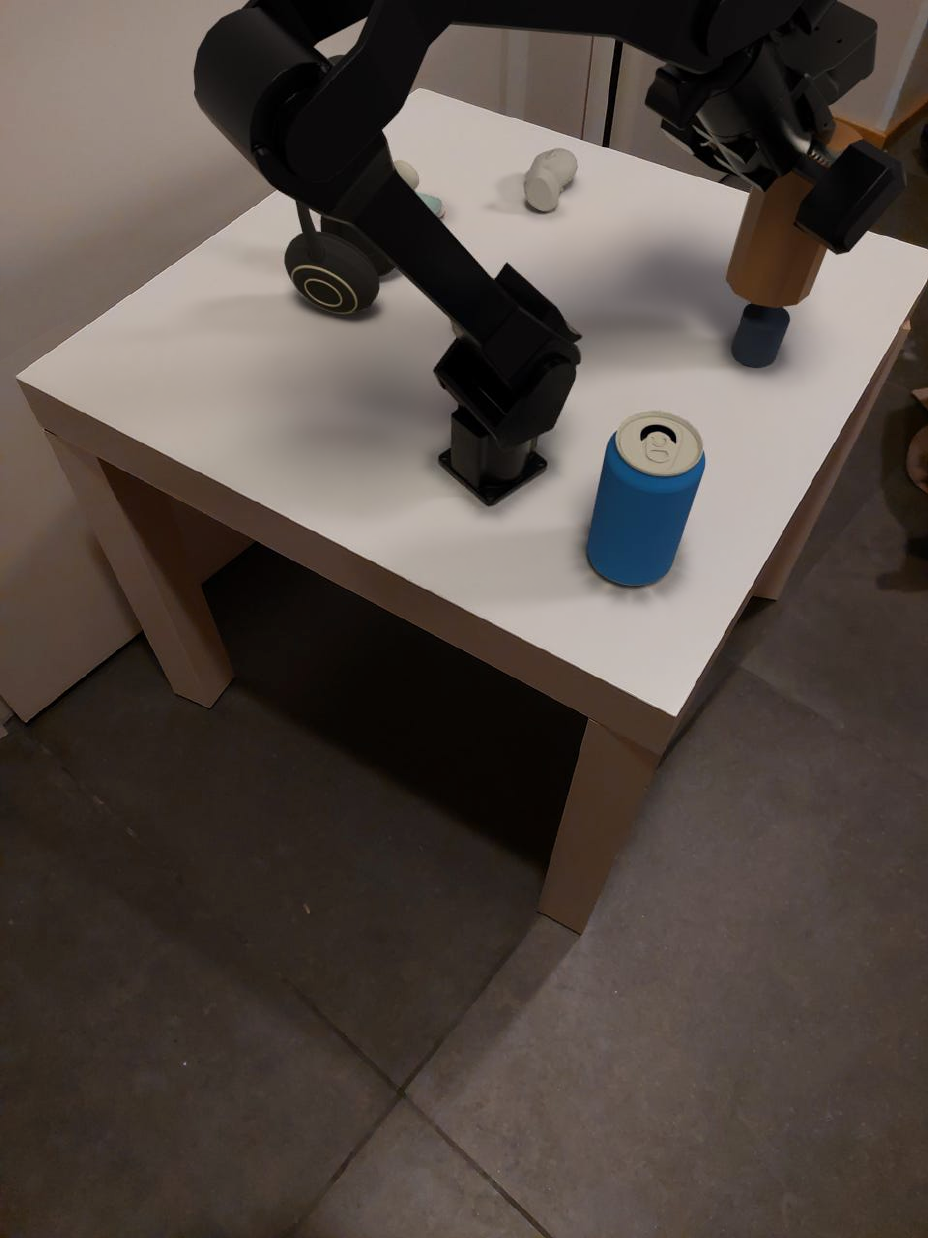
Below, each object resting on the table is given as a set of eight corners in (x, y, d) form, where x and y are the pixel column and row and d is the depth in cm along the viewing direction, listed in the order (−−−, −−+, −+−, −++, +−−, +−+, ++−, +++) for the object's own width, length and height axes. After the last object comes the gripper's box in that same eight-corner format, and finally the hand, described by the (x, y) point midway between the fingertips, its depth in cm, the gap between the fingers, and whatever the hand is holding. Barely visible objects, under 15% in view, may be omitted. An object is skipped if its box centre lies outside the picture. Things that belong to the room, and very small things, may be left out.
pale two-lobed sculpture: (542, 181, 97) (586, 178, 95) (512, 217, 93) (557, 216, 91) (534, 139, 94) (579, 136, 92) (502, 175, 90) (549, 173, 88)
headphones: (424, 256, 88) (418, 30, 71) (362, 350, 80) (340, 121, 63) (344, 237, 89) (320, 11, 73) (275, 327, 82) (231, 98, 65)
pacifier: (393, 191, 94) (365, 220, 91) (391, 130, 89) (361, 158, 86) (456, 210, 92) (430, 239, 89) (457, 148, 87) (430, 177, 84)
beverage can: (670, 527, 69) (707, 409, 59) (673, 595, 66) (713, 483, 56) (586, 520, 69) (609, 402, 59) (584, 587, 66) (608, 474, 56)
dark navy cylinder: (757, 374, 79) (770, 336, 76) (721, 350, 81) (733, 313, 77) (785, 354, 81) (799, 316, 77) (750, 331, 82) (762, 294, 79)
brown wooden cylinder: (747, 312, 74) (800, 153, 63) (712, 261, 77) (757, 103, 66) (824, 300, 75) (890, 141, 64) (787, 251, 79) (842, 93, 68)
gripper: (956, 32, 51) (985, 166, 64) (730, -81, 60) (795, 57, 72) (811, 204, 55) (865, 298, 68) (618, 76, 64) (698, 180, 76)
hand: (805, 202), depth 71 cm, fingers closed on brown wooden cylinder, 7 cm apart
